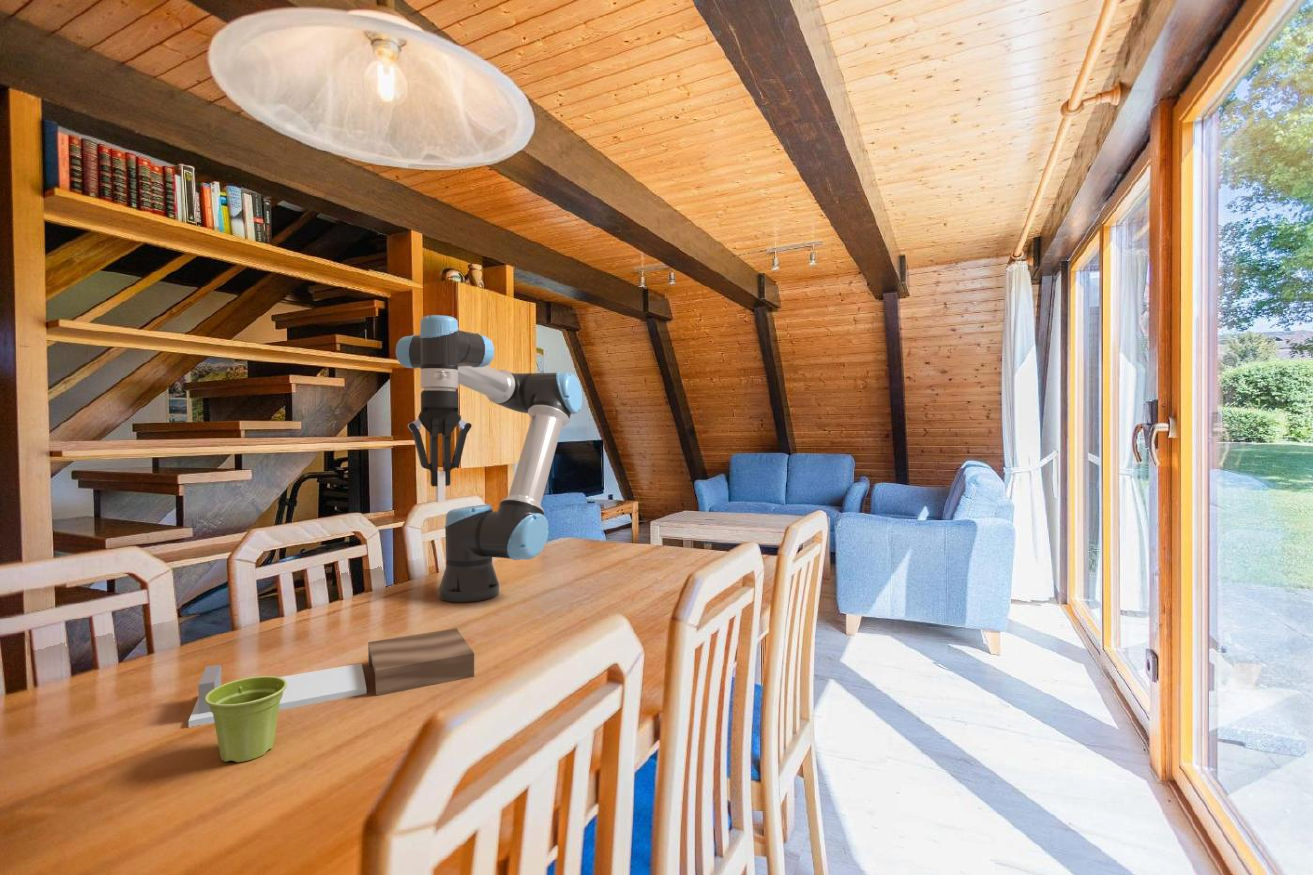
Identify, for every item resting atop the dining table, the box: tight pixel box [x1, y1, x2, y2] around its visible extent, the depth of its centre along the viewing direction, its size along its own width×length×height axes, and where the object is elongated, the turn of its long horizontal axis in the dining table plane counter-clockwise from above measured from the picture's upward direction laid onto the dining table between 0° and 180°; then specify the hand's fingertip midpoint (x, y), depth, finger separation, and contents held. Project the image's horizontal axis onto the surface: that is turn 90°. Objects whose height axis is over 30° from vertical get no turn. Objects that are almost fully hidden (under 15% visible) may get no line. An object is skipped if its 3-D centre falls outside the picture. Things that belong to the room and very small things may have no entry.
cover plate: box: [188, 663, 368, 728], centre depth 103 cm, size 12×24×6 cm, turn 119°
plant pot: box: [205, 675, 287, 763], centre depth 86 cm, size 9×9×9 cm
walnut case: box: [367, 628, 475, 696], centre depth 114 cm, size 15×16×4 cm
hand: (440, 501), depth 132 cm, fingers closed
